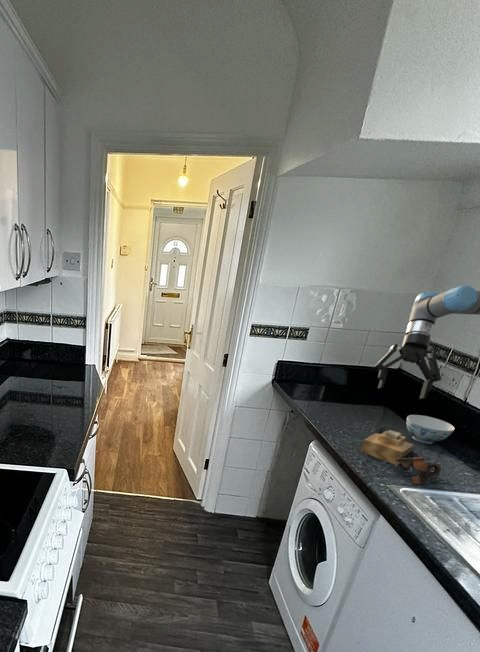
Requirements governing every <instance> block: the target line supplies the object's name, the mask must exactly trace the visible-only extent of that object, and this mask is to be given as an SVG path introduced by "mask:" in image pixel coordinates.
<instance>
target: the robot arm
mask: <svg viewBox="0 0 480 652" xmlns="http://www.w3.org/2000/svg"><path fill="white" fill-rule="evenodd" d="M411 307H412V308H411V311H410V316H409V319H408V323H407V325H406V330H405V333H404V334H405V335H404V337H403V340H402V344H401V346H399V344H397V343H394V344H393V345H391V346H390V348H389V350H388V352H386V353H385V355H383V357H382V358H381V359H380V360H378V361H377V362H376V364H375V365H374V368H376V369H378V375H377V379H378V380H379V382H378V385H377V389H378V390H381V389H384V387H385V383H386V381H387V377H388V372H389V369H388V368H390V367H392V366H393V365H395V364H397V363H398V362H400V361H401V360H403V362H406V363H407V362H409V363H411V364H416V366H418V368H419V371H420V372H421V373H422V375H423V377H424V379H425V381H423V384H422V387H421V391H420V394H419V398H418V400H424V399H427V396H428V392H429V391H432V389H433V385H434V383H436V382H439V381H441V380H442V376H441V372H440V369H439V365H438V361H437V357H438V354H437V353H436V352H433V353H430V352H428V348H429V346H430V343H431V337H432V336H433V332H434V328H435V325H436V321H437V319H439V318H442V317H445V316H448V315H452V314H453V315H457V314H458V315H477V316H480V290H476V289H475V288H474V287H472V286H471V285H469V284H467V285H465V284H464V285H460V286H456V287H453V288H450V289H448V290H446V291H444V292H441V293H438V292H436V291H435V292H434V291H427V292H422V293H419V294H418V295H417V296H416V298H415V299H414V302H413V305H412V306H411ZM396 352H399V356H398V357H396V358H394V359H392V360H390V361H389V362H388V363H386V364H385V362H387V361H388V359H390V357H392V355H394V354H395V353H396ZM425 358H426V359H425ZM426 360H427V361H426ZM427 363H428V364H427ZM384 364H385V365H384Z"/></svg>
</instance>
